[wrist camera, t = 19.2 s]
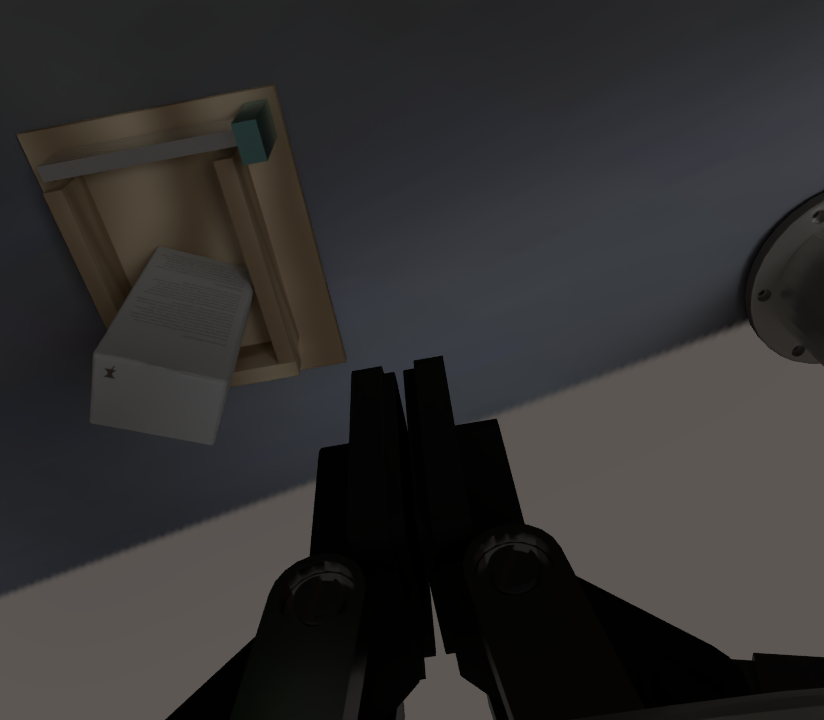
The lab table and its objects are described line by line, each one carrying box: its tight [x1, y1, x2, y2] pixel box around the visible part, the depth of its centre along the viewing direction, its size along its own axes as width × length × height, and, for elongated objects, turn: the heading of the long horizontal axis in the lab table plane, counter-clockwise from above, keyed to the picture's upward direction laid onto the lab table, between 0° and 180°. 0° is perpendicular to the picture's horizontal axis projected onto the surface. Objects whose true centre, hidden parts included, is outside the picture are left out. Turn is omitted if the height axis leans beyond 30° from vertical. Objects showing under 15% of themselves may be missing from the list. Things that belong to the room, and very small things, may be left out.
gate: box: [37, 98, 278, 182], centre depth 35 cm, size 12×2×4 cm, turn 100°
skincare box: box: [89, 246, 255, 446], centre depth 37 cm, size 6×4×12 cm
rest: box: [17, 84, 346, 387], centre depth 40 cm, size 14×18×4 cm
